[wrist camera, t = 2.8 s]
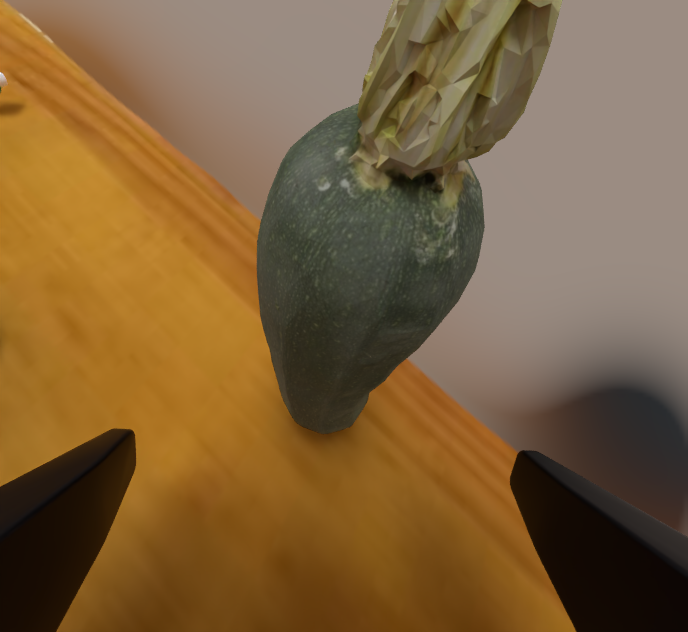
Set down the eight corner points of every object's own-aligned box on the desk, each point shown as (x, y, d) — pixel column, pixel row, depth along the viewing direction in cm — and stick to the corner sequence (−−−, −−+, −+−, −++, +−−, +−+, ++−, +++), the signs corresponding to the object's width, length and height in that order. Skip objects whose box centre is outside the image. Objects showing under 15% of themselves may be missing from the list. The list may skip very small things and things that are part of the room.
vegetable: (318, 471, 18) (1189, -384, 1) (250, 415, 19) (-78, -709, 1) (368, 399, 20) (942, -298, 3) (305, 351, 21) (445, -452, 3)
